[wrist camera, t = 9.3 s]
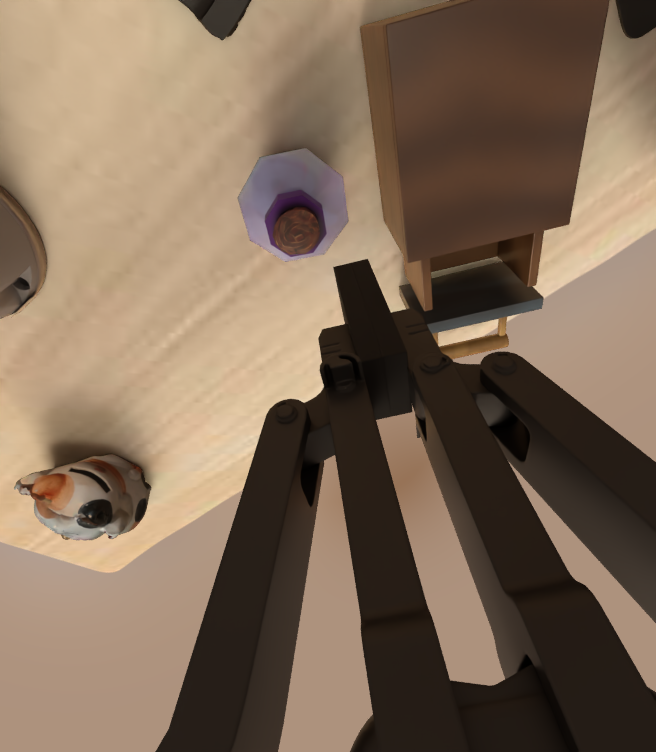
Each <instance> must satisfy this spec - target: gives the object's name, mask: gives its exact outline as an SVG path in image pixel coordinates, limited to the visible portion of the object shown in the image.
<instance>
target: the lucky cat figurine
mask: <svg viewBox="0 0 656 752" xmlns="http://www.w3.org/2000/svg"><path fill="white" fill-rule="evenodd" d="M14 489H15V490H16V489H18V490H19V493H21V494H22V495H31V497H32V498H33V499H35V503H34V513H35V515H36V517H37V518H38V520H39V521H40V522H41V523H43V524H44V525H45V526H47V527H48V528H50V530H52V531H54V532H55V533H57V534H61V536H62V538H63V539H66V540H68V539H73V540H93V539H96V538H98V537H100V536H101V535H103V534H104V533H106V534H107V535H108V536H109V539H114V538H116V537H117V536H118V535H120V534H123V533H126V532H129V531H131V530H132V529H134V528H135V527H136V526H137V525H138V524H139V523H140V521H141V520H142V518H143V517H144V515H145V512H146V509H147V504H148V499H149V494H150V490H151V486H150V485H149V484H148V483H147V482H145V478H144V475H143V472H142V469H141V468H139V467H137V466H135V465H133V464H131V463H130V462H128V461H126V460H124V459H122V458H120V457H118V456H115V455H113V454H109V455H105V456H99V457H97V456H92V457H89V458H87V459H84V460H82V461H79V462H75V463H72V464H68V465H64V466H60V467H57V468H53V469H49V470H44V471H40V472H35V473H31V474H29V475H28V476H25V477H23V478H21V479H20V480H19V481H17V483H16V485H15V487H14Z"/></svg>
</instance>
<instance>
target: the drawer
mask: <svg viewBox="0 0 656 752" xmlns="http://www.w3.org/2000/svg"><path fill="white" fill-rule="evenodd" d="M543 233H544V231H540V232H536V233H532V234H527V235H523V236H519V237H515V238H511V239H507V240H503V241H499V242H494V243H490V244H486V245H482V246H478V247H474V248H470V249H465V250H461V251H457V252H453V253H449V254H445V255H441V256H437V257H432V258H428V259H424V260H420V261H416V262H412V263H407V261H406V259H405V257H404V256H403V258H404V268H405V275H406V277H407V279H408V281H409V283H410V284H406V285H402V286H399V290H400V296H401V299H402V301H403V303H404V305H405V307H406V309H410V308H413V309H414V310H416V311H417V312H419V313H421V314H422V316H423V318H424V320H425V322H426V324H427V326H428V328H429V330H430V331H431V333H432V335H433V337H434V339H435V341H436V343H437V344H438V332H442V331H446V330H450V329H455V328H459V327H464V326H468V325H472V324H477V323H481V322H485V321H490V320H494V319H499V322H498V333H497V334H493V335H489V336H484V337H480V338H475V339H471V340H467V341H462V342H458V343H453V344H449V345H444V346H440V347H439V348H440V350H441V352H442V353H443V354H445V355H447V356H449V357H450V358H451V359H455V358H459V357H464V356H468V355H473V354H477V353H482V352H486V351H491V350H495V349H499V348H504V347H507V346H508V345H509V341H508V336H507V334H506V333H505V331H506V321H507V316H512V315H516V314H520V313H525V312H529V311H534V310H538V309H542V305H543V297H542V296H541V295H540V294H539V293H538V292H537V291H536V290H535V289H534V288H533V287H532V286H535V285H536V283H537V276H538V269H539V262H540V255H541V248H542V240H543ZM497 256H498V257H499V258H500V259H501V260H502V261H503V262H498V263H494V264H490V265H486V266H482V267H477V268H473V269H469V270H465V271H461V272H457V273H452V274H448V275H444V276H440V277H436V278H431V272H434V271H438V270H442V269H447V268H451V267H455V266H459V265H463V264H468V263H472V262H476V261H480V260H484V259H488V258H493V257H497Z"/></svg>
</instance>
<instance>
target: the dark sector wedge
mask: <svg viewBox="0 0 656 752" xmlns="http://www.w3.org/2000/svg"><path fill="white" fill-rule="evenodd" d="M179 1H180V2H182V3H183V4H184V5H185V6H187V7H188V8H189V9H190V10H191V11H192V12H193V13H194V14H195V16H196V17H197V19H198V20H199V21H200V22H201V23H202V24H203V26H204V27H205V28H206V29H207V30H208V31H209V32H210V33H211V34H212V35H214V36H215V37H218V38H220V39H221V40H224V39H225V37H226V36H227V37H229V36H231V35H232V34H233V32H234V31H235V30H236V28H237V26H238V22H239V21H240V20H241V19H242V17H243V16H244V14H245V12H246V9H247V7H248V6H249V3H250V2H251V0H179Z"/></svg>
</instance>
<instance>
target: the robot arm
mask: <svg viewBox="0 0 656 752" xmlns="http://www.w3.org/2000/svg"><path fill="white" fill-rule="evenodd" d="M46 264H47V263H46V255H45V251H44V247H43V244H42V241H41V239H40V236H39V234H38V232H37V230H36V228H35V226H34V225H33V223H32V221H31V220H30V218H29V217H28V215H27V214H26V213H25V211H24V210H23V209H22V208H21V206H20V205H19V204H18V203H17V202H16V201H15V200H14V199H13V198H12V197H11V196H10V195H9V194H8V193H7V192H6V191H5V190H4V189H3V188H2V187H1V186H0V319H1V318H3V317H6V316H9V315H11V314H13V313H15V314H14V315H13V316H15V315H16V314H18V313H19V312H21V311H22V310H23V309H24V308H25V307H26V306H27V305H28V304H29V303H30V302H31V301H32V300H33V299H34V298H35V297H36V296H37V295H38V294H37V293H38V291H39V290H40V289H41V287H42V285H43V283H44V279H45V276H46ZM334 272H335V277H336V282H337V287H338V292H339V297H340V302H341V307H342V312H343V316H344V321H345V324H344V325H340V326H335V327H331V328H326V329H322V332H321V334H320V336H319V338H318V339H319V345H320V351H321V358H322V363H321V365H320V373H321V377H322V380H323V384H324V388H323V390H322V391H321V393H320V394H318V395H317V396H316V397H315V398H313V399H311V400H310V401H307V402H305V403H303V402H301V401H299V400H296V399H287V400H283V401H280V402H278V403H276V404H275V405H274V406H273V407H272V408H270V410H269V411H268V413H267V415H266V418H265V422H264V425H263V428H262V431H261V434H260V438H259V441H258V444H257V447H256V450H255V454H254V457H253V460H252V463H251V467H250V470H249V473H248V476H247V479H246V483H245V486H244V489H243V492H242V495H241V499H240V502H239V505H238V508H237V511H236V515H235V518H234V521H233V524H232V528H231V531H230V534H229V537H228V540H227V544H226V547H225V550H224V553H223V556H222V560H221V563H220V566H219V569H218V572H217V576H216V579H215V582H214V586H213V589H212V592H211V595H210V598H209V602H208V605H207V608H206V611H205V614H204V618H203V621H202V624H201V627H200V630H199V634H198V637H197V640H196V643H195V646H194V650H193V653H192V656H191V659H190V662H189V666H188V669H187V672H186V675H185V678H184V682H183V685H182V688H181V692H180V695H179V698H178V701H177V704H176V707H175V711H174V714H173V717H172V720H171V724H170V727H169V729H168V731H167V733H166V735H165V736H164V738H163V740H162V742H161V743H160V745H159V747H158V749H157V750H156V752H278V749H279V744H280V738H281V734H282V729H283V724H284V717H285V711H286V704H287V698H288V692H289V685H290V678H291V672H292V665H293V659H294V653H295V646H296V640H297V634H298V627H299V621H300V615H301V608H302V602H303V595H304V589H305V583H306V576H307V569H308V563H309V557H310V551H311V544H312V538H313V531H314V525H315V519H316V512H317V506H318V499H319V493H320V486H321V480H322V474H323V467H324V460H326V459H328V458H329V457H332V456H333V455H335V456H336V462H337V469H338V475H339V481H340V488H341V494H342V501H343V507H344V513H345V519H346V526H347V532H348V539H349V545H350V551H351V558H352V564H353V570H354V577H355V583H356V589H357V596H358V602H359V609H360V616H361V636H362V644H363V651H364V658H365V665H366V671H367V678H368V684H369V690H370V697H371V704H372V710H373V715H372V716H371V717H370V718H369V719H368V721H367V722H366V723H365V725H364V726H363V728H362V729H361V730H360V732H359V734H358V736H357V738H356V740H355V742H354V744H353V746H352V748H351V751H350V752H656V692H655V691H653V690H651V689H650V688H648V687H647V686H646V684H645V682H644V680H643V679H642V677H641V675H640V673H639V672H638V670H637V668H636V666H635V665H634V663H633V661H632V660H631V658H630V656H629V654H628V653H627V651H626V649H625V647H624V645H623V644H622V642H621V640H620V639H619V637H618V635H617V633H616V631H615V630H614V628H613V626H612V625H611V623H610V621H609V619H608V618H607V616H606V614H605V612H604V611H603V609H602V607H601V605H600V604H599V602H598V601H597V599H596V598H595V596H594V595H593V593H592V592H591V591H590V590H589V589H588V588H587V587H586V586H585V585H583V584H582V583H580V582H577V581H576V580H575V579H574V578H573V577H572V576H571V575H570V573H569V572H568V570H567V568H566V566H565V564H564V563H563V561H562V559H561V557H560V555H559V553H558V552H557V550H556V548H555V546H554V544H553V543H552V541H551V539H550V537H549V535H548V534H547V532H546V530H545V528H544V526H543V524H542V523H541V521H540V519H539V517H538V515H537V513H536V511H535V510H534V508H533V506H532V504H531V502H530V501H529V499H528V497H527V495H526V493H525V491H524V490H523V488H522V486H521V484H520V482H519V481H518V479H517V477H516V475H515V473H514V471H513V470H512V468H511V466H510V464H509V462H510V463H511V464H512V465H513V467H514V468H515V469H516V470H517V471H518V472H519V473H520V474H521V475H522V476H523V478H524V479H525V480H526V481H527V482H528V483H529V484H530V485H531V486H532V487H533V489H534V490H535V491H536V492H537V493H538V494H539V495H540V496H541V497H542V498H543V499H544V501H545V502H546V503H547V504H548V505H549V506H550V507H551V508H552V510H553V511H554V512H555V513H556V514H557V515H558V516H559V517H560V518H561V519H562V520H563V522H564V523H565V524H566V525H567V526H568V527H569V528H570V529H571V530H572V531H573V533H574V534H575V535H576V536H577V537H578V538H579V539H580V540H581V541H582V543H583V544H584V545H585V546H586V547H587V548H588V549H589V550H590V551H591V552H592V554H593V555H594V556H595V557H596V558H597V559H598V560H599V561H600V562H601V563H602V564H603V565H604V567H605V568H606V569H607V570H608V571H609V572H610V573H611V574H612V576H613V577H614V578H615V579H616V580H617V581H618V582H619V583H620V584H621V585H622V586H623V588H624V589H625V590H626V591H627V592H628V593H629V594H630V595H631V596H632V598H633V599H634V600H635V601H636V602H637V603H638V604H639V605H640V606H641V607H642V609H643V610H644V611H645V612H646V613H647V614H648V615H649V616H650V617H651V618H652V620H653V621H654V622H655V623H656V462H655V461H653V460H652V459H651V458H650V457H648V456H647V455H646V454H644V453H643V452H642V451H641V450H639V449H638V448H637V447H636V446H634V445H633V444H632V443H631V442H629V441H628V440H626V439H625V438H624V437H623V436H621V435H620V434H619V433H618V432H617V431H615V430H614V429H613V428H611V427H610V426H609V425H608V424H606V423H605V422H604V421H602V420H601V419H600V418H599V417H597V416H596V415H595V414H593V413H592V412H591V411H589V410H588V409H587V408H586V407H584V406H583V405H582V404H581V403H580V402H578V401H577V400H576V399H574V398H573V397H572V396H571V395H569V394H568V393H567V392H566V391H564V390H563V389H562V388H560V387H559V386H558V385H557V384H555V383H554V382H553V381H552V380H550V379H549V378H548V377H546V376H545V375H544V374H543V373H541V372H540V371H539V370H537V369H536V368H535V367H534V366H532V365H531V364H530V363H529V362H527V361H526V360H525V359H523V358H522V357H520V356H518V355H517V354H514V353H510V352H495V353H491V354H489V355H487V356H486V357H484V358H483V360H482V361H481V364H459V363H456V362H453V360H452V359H451V358H450V357H449V356H447V355H445V354H443V353H442V352H441V350H440V348H439V346H438V344H437V343H436V341H435V339H434V337H433V335H432V333H431V331H430V330H429V328H428V326H427V324H426V322H425V320H424V318H423V316H422V314H421V313H419V312H417V311H416V310H414V309H413V308H410V309H406V310H401V311H397V312H392V313H391V312H390V310H389V308H388V305H387V303H386V301H385V298H384V296H383V294H382V291H381V289H380V287H379V284H378V282H377V280H376V277H375V275H374V273H373V270H372V268H371V266H370V263H369V261H368V259H366V260H361V261H357V262H353V263H349V264H344V265H340V266H336V267H334ZM36 294H37V295H36ZM13 316H12V317H13ZM12 317H11V318H12ZM412 406H413V408H414V411H415V416H416V429H417V438H420V435H421V438H422V441H423V444H424V446H425V448H426V452H427V454H428V457H429V460H430V463H431V465H432V468H433V471H434V473H435V476H436V479H437V482H438V484H439V487H440V489H441V492H442V495H443V498H444V501H445V503H446V506H447V509H448V511H449V514H450V517H451V520H452V522H453V525H454V528H455V530H456V533H457V536H458V539H459V542H460V544H461V547H462V550H463V552H464V555H465V558H466V560H467V563H468V566H469V569H470V572H471V574H472V577H473V579H474V582H475V585H476V588H477V590H478V593H479V596H480V599H481V601H482V604H483V607H484V609H485V612H486V615H487V618H488V621H489V623H490V626H491V629H492V632H493V635H494V639H495V644H496V649H497V654H498V657H499V661H500V664H501V667H502V670H503V673H504V676H505V680H503V681H502V682H500V683H498V684H496V685H492V686H487V685H480V684H471V683H464V682H457V681H450V679H449V675H448V672H447V669H446V665H445V661H444V657H443V654H442V650H441V647H440V643H439V640H438V636H437V633H436V629H435V626H434V622H433V620H432V616H431V614H430V612H429V609H428V606H427V604H426V600H425V597H424V593H423V590H422V586H421V582H420V578H419V575H418V571H417V567H416V564H415V560H414V557H413V553H412V549H411V546H410V542H409V538H408V535H407V531H406V527H405V524H404V520H403V517H402V513H401V509H400V506H399V502H398V498H397V495H396V491H395V488H394V484H393V480H392V477H391V473H390V469H389V466H388V462H387V459H386V455H385V451H384V448H383V444H382V440H381V437H380V433H379V429H378V426H377V422H376V420H377V419H382V418H387V417H391V416H396V415H400V414H405V413H410V412H412ZM508 461H509V462H508Z"/></svg>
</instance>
